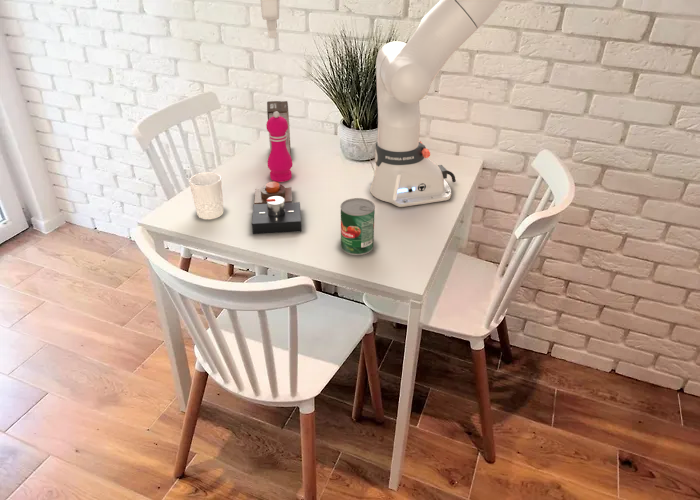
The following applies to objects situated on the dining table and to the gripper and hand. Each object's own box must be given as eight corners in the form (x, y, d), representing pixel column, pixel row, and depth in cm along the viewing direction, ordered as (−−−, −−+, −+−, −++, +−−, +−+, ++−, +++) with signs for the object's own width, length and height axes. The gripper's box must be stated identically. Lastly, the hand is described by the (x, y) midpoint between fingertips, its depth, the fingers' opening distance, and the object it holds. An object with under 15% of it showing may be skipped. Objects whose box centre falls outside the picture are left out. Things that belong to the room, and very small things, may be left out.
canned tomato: (335, 250, 132) (334, 210, 126) (348, 234, 138) (348, 195, 132) (366, 258, 130) (367, 217, 124) (378, 241, 136) (380, 201, 130)
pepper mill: (289, 184, 161) (284, 117, 150) (265, 181, 162) (259, 115, 151) (296, 173, 167) (292, 108, 156) (273, 171, 168) (267, 106, 157)
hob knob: (285, 207, 143) (284, 194, 141) (285, 216, 140) (284, 202, 138) (267, 208, 143) (266, 195, 141) (267, 217, 139) (266, 203, 137)
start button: (279, 187, 153) (279, 181, 152) (279, 193, 150) (279, 187, 149) (266, 187, 153) (265, 181, 152) (266, 193, 150) (265, 187, 149)
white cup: (215, 223, 143) (210, 188, 137) (189, 217, 145) (182, 183, 140) (231, 209, 149) (226, 174, 143) (205, 203, 151) (200, 170, 146)
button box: (291, 192, 157) (291, 181, 155) (292, 206, 150) (291, 195, 148) (255, 194, 156) (254, 183, 154) (254, 208, 149) (253, 196, 147)
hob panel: (300, 211, 148) (299, 201, 146) (301, 231, 139) (301, 220, 138) (254, 214, 147) (253, 203, 145) (252, 234, 138) (251, 223, 137)
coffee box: (270, 149, 181) (266, 100, 172) (290, 149, 182) (287, 100, 173) (270, 161, 174) (266, 111, 165) (291, 160, 174) (288, 110, 166)
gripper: (282, -28, 113) (287, 43, 121) (282, -40, 130) (286, 23, 138) (251, -27, 113) (257, 44, 120) (255, -40, 130) (260, 23, 137)
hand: (273, 32), depth 129 cm, fingers open, 8 cm apart
